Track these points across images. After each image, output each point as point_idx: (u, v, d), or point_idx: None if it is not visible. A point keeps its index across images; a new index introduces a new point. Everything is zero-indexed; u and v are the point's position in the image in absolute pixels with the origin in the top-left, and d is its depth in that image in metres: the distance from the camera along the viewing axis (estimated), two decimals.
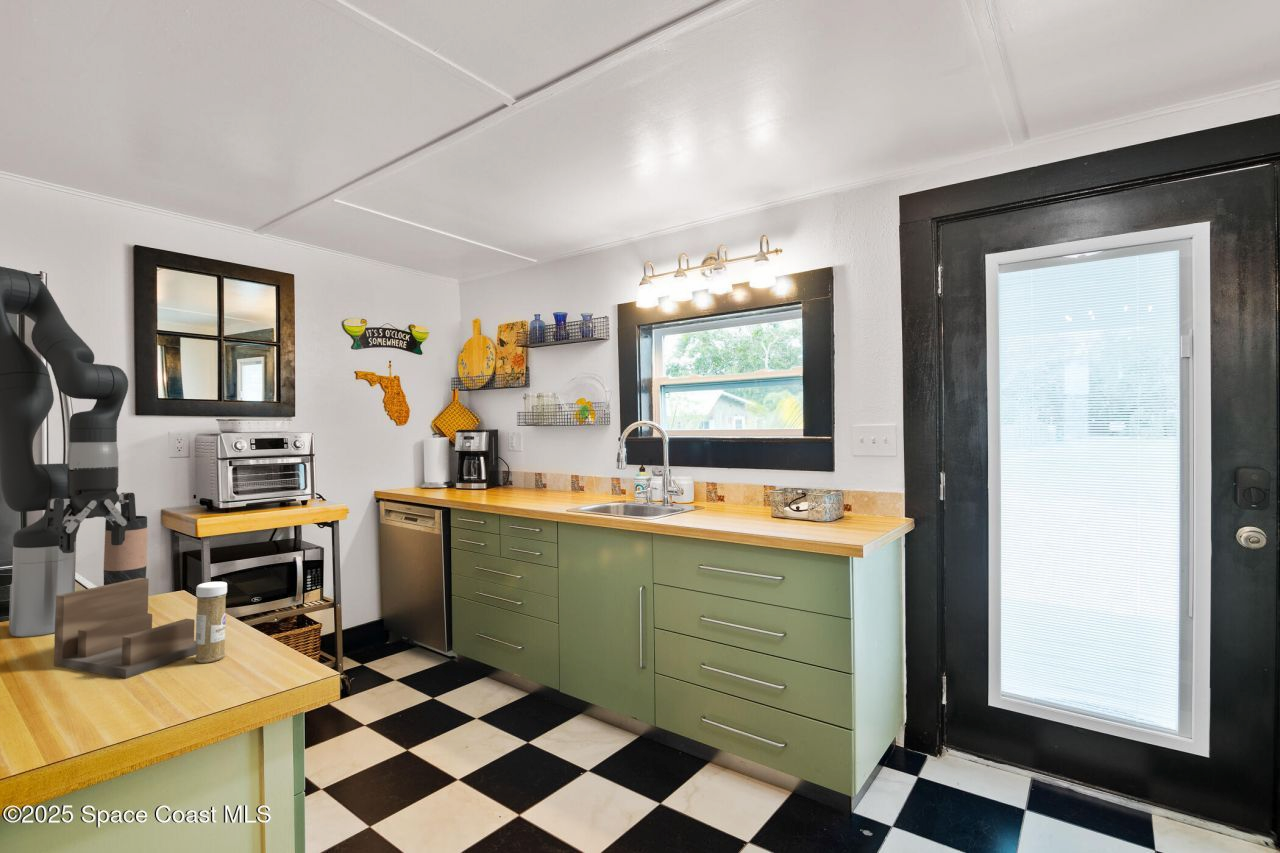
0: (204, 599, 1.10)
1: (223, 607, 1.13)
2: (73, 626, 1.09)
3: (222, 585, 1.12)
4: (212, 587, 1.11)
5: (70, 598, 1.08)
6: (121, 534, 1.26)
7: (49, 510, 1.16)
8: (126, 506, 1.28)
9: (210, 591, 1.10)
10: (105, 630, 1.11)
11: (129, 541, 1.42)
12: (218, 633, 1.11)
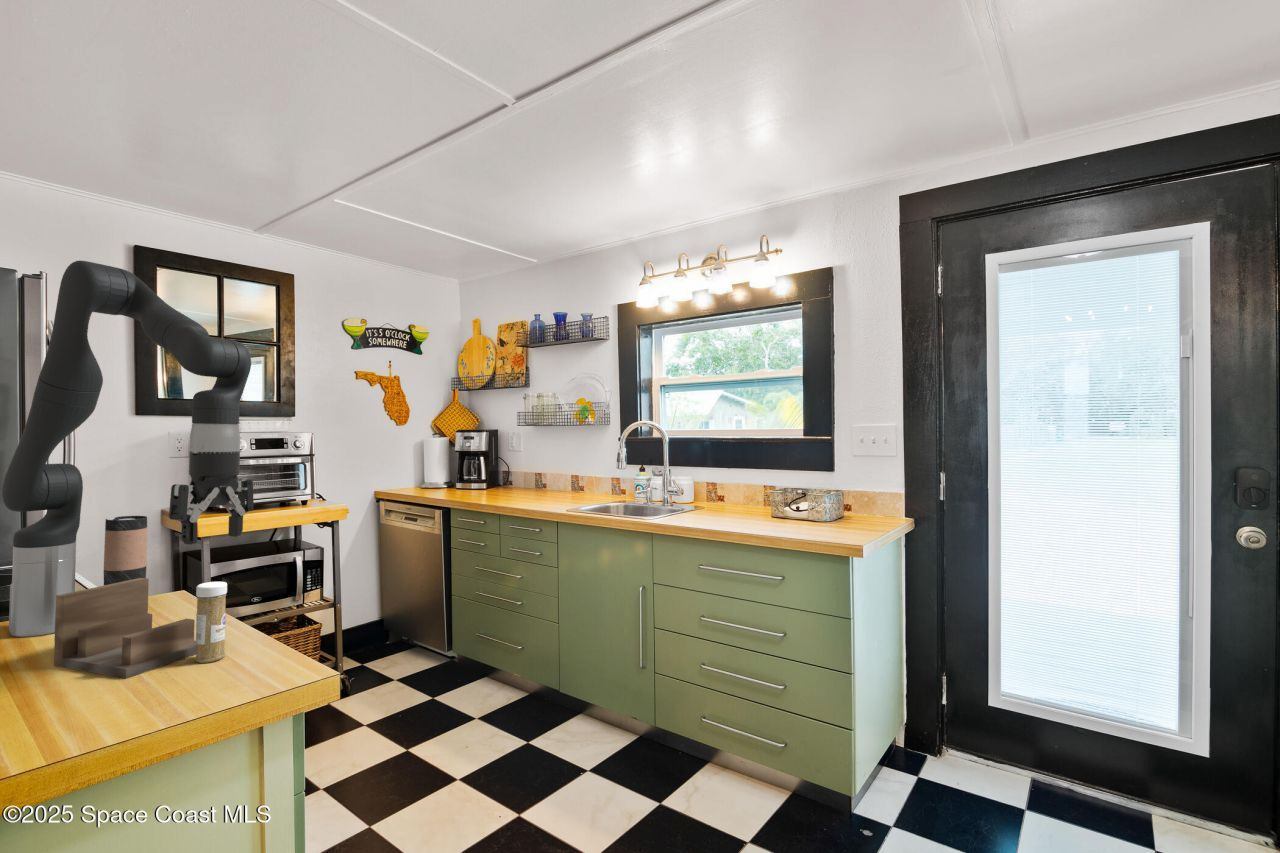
0: (204, 599, 1.10)
1: (223, 607, 1.13)
2: (73, 626, 1.09)
3: (222, 585, 1.12)
4: (212, 587, 1.11)
5: (70, 598, 1.08)
6: (240, 524, 1.16)
7: (173, 497, 1.06)
8: (244, 494, 1.18)
9: (210, 591, 1.10)
10: (105, 630, 1.11)
11: (129, 541, 1.42)
12: (218, 633, 1.11)
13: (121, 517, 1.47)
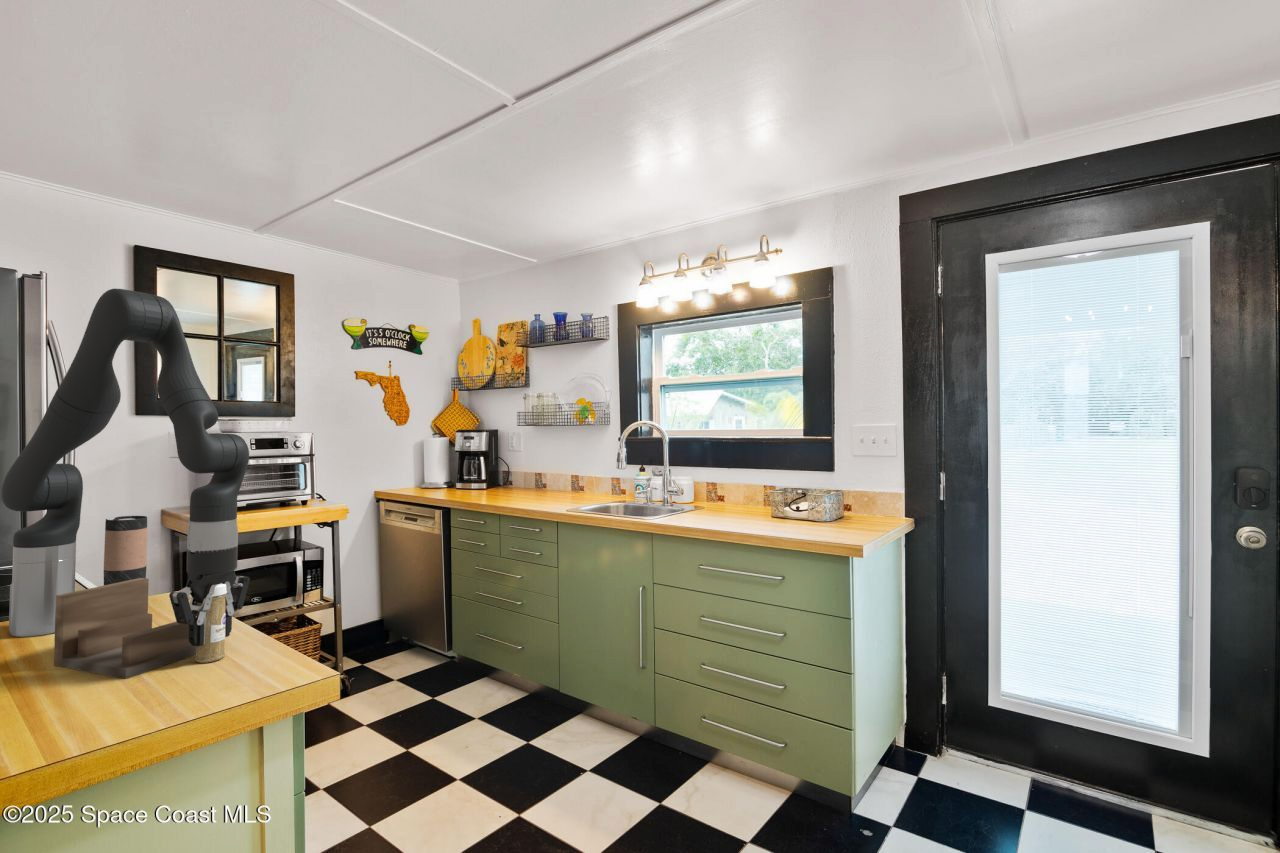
0: None
1: (223, 607, 1.13)
2: (73, 626, 1.09)
3: (222, 585, 1.12)
4: None
5: (70, 598, 1.08)
6: (228, 625, 1.14)
7: (174, 605, 1.07)
8: (238, 591, 1.17)
9: None
10: (105, 630, 1.11)
11: (129, 541, 1.42)
12: (218, 633, 1.11)
13: (121, 517, 1.47)
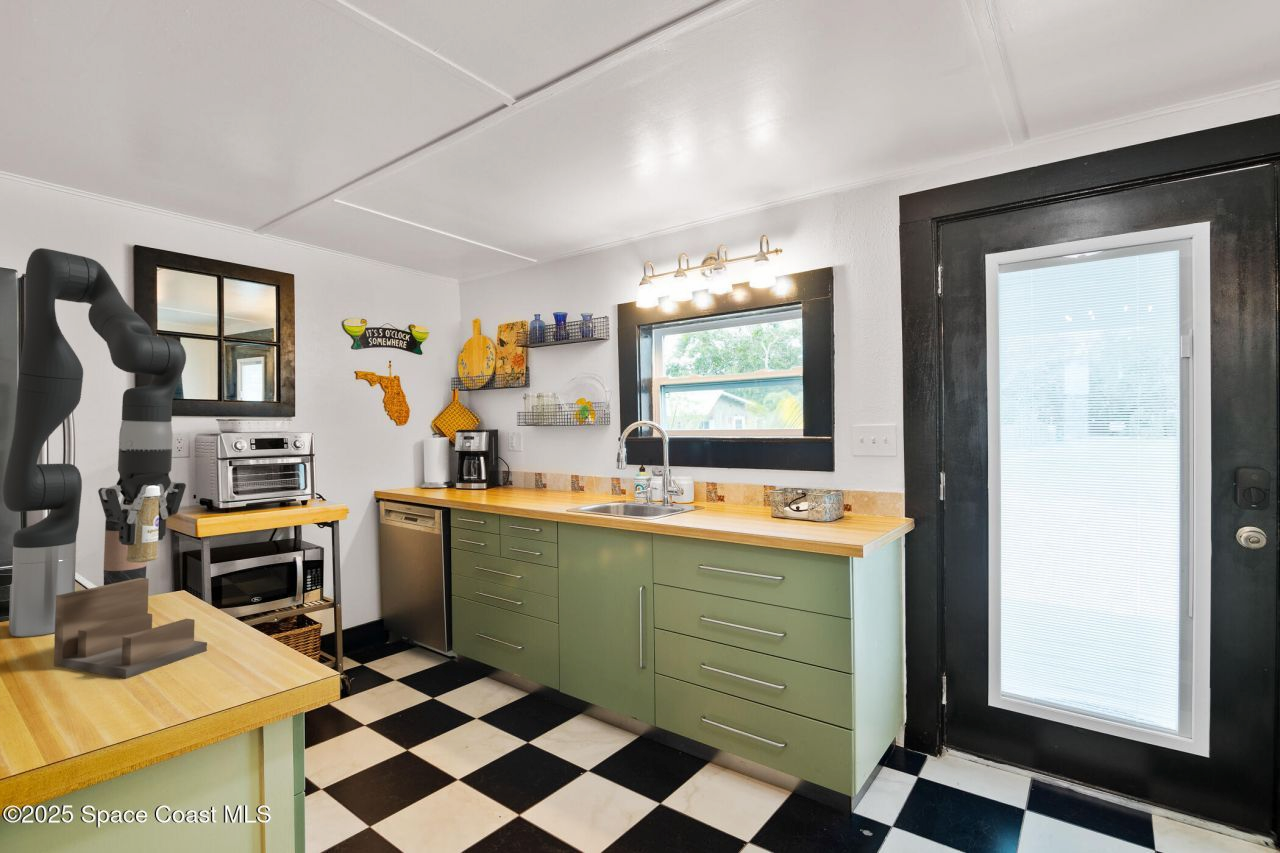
0: None
1: (156, 509, 1.13)
2: (73, 626, 1.09)
3: (155, 486, 1.12)
4: None
5: (70, 598, 1.08)
6: (162, 528, 1.15)
7: (103, 501, 1.07)
8: (173, 496, 1.17)
9: None
10: (105, 630, 1.11)
11: None
12: (150, 534, 1.12)
13: None
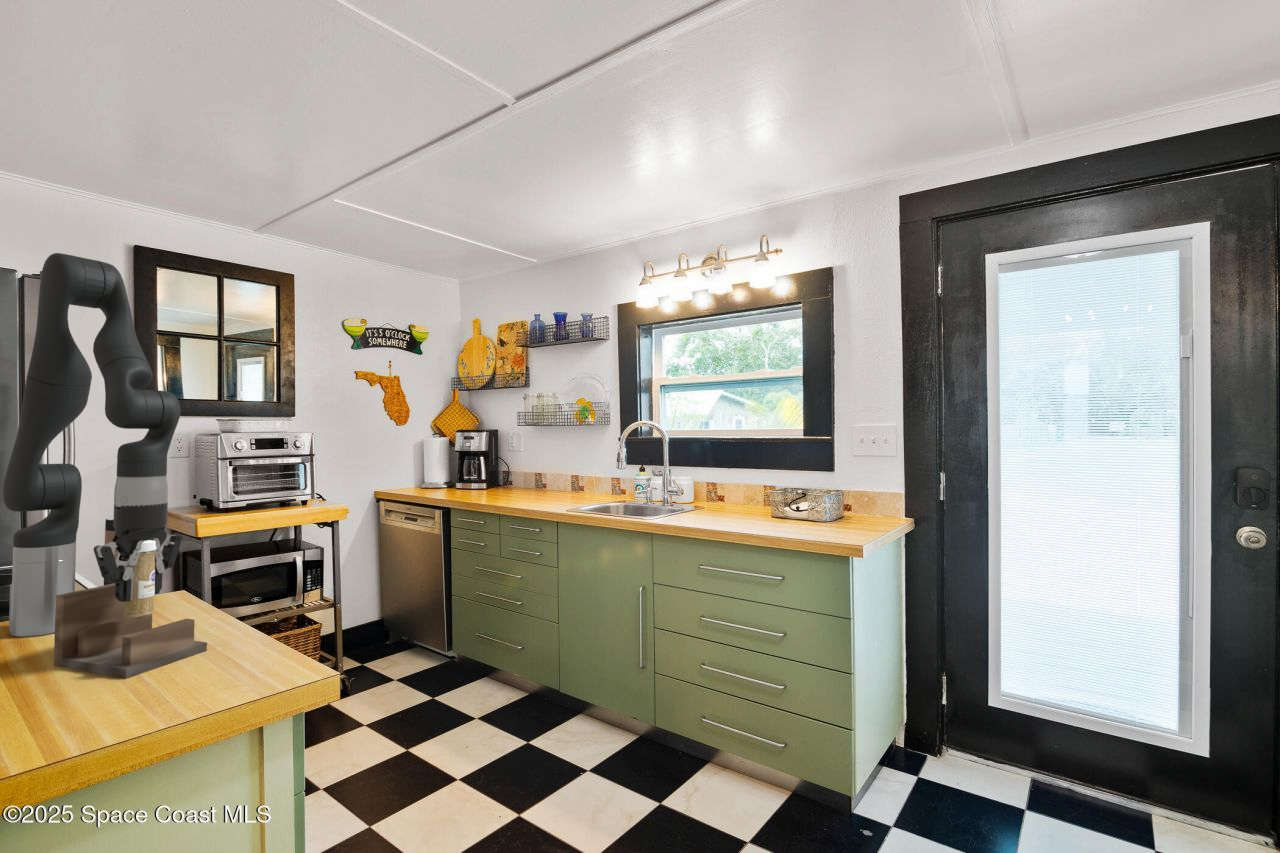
0: None
1: (152, 563, 1.12)
2: (73, 626, 1.09)
3: (151, 541, 1.12)
4: None
5: (70, 598, 1.08)
6: (158, 582, 1.14)
7: (99, 559, 1.06)
8: (169, 549, 1.17)
9: None
10: (105, 630, 1.11)
11: None
12: (146, 589, 1.11)
13: None
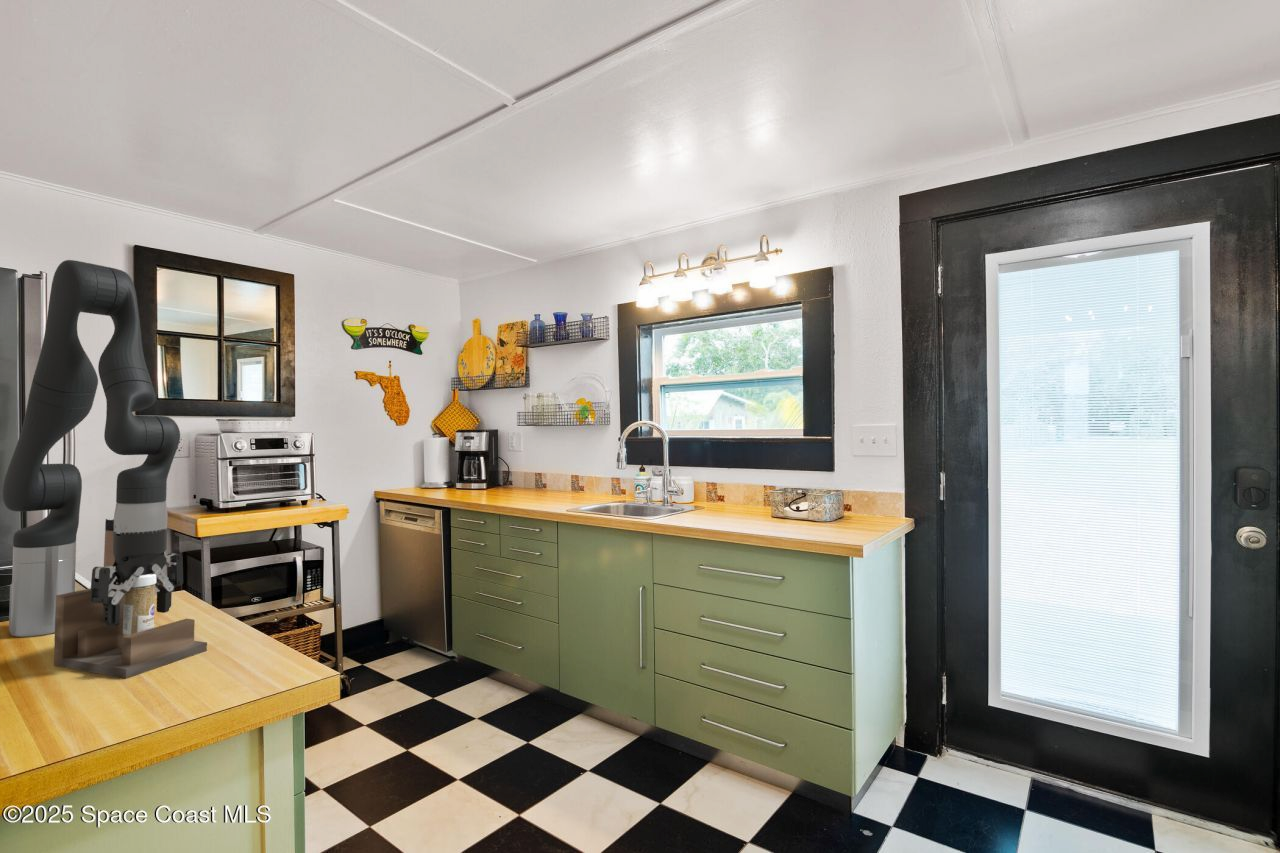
0: (131, 589, 1.10)
1: (151, 597, 1.12)
2: (73, 626, 1.09)
3: (150, 575, 1.12)
4: (139, 577, 1.10)
5: (70, 598, 1.08)
6: (167, 600, 1.16)
7: (94, 580, 1.06)
8: (173, 569, 1.17)
9: (138, 581, 1.10)
10: (105, 630, 1.11)
11: None
12: (146, 624, 1.11)
13: None
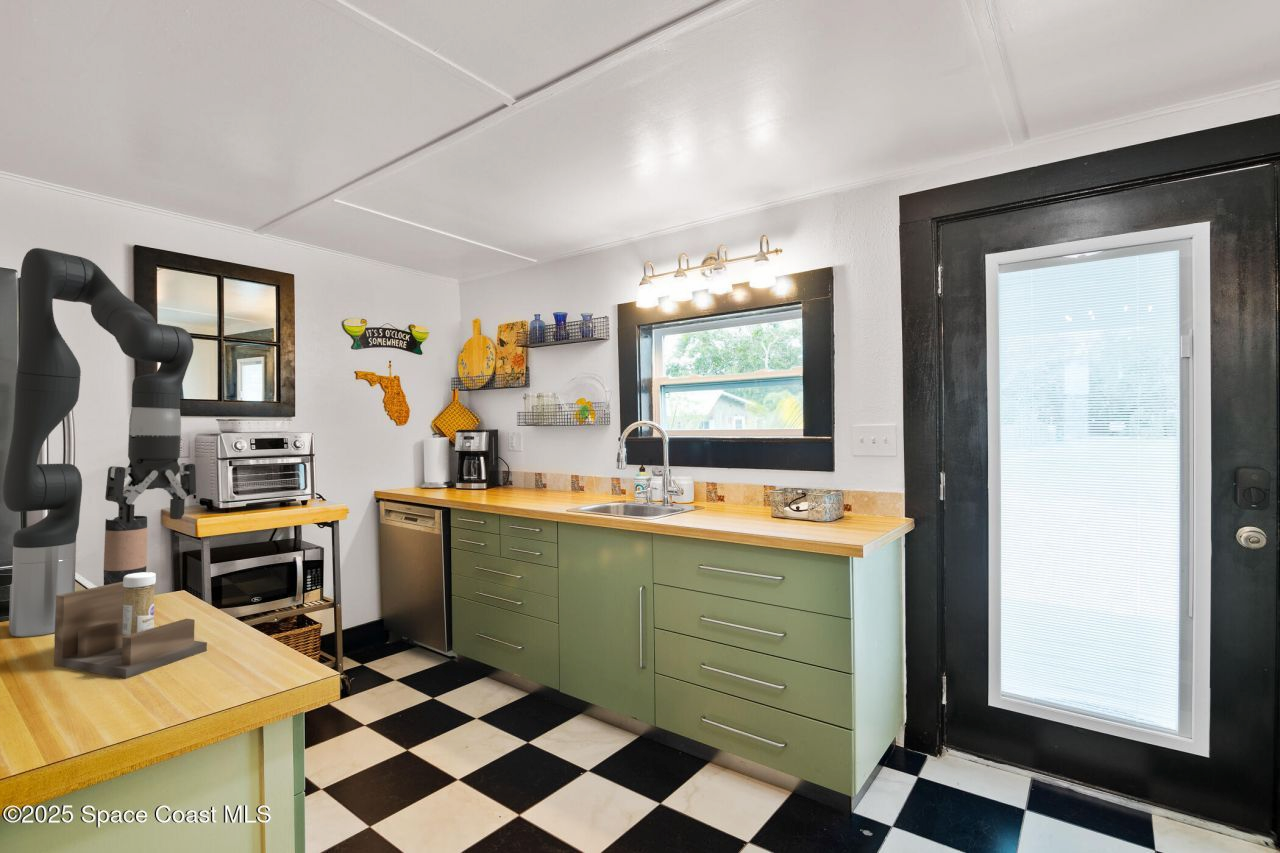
0: (131, 589, 1.10)
1: (151, 597, 1.12)
2: (73, 626, 1.09)
3: (150, 575, 1.12)
4: (139, 577, 1.10)
5: (70, 598, 1.08)
6: (181, 507, 1.18)
7: (109, 479, 1.08)
8: (186, 478, 1.20)
9: (137, 581, 1.10)
10: (105, 630, 1.11)
11: (129, 541, 1.42)
12: (145, 624, 1.11)
13: None
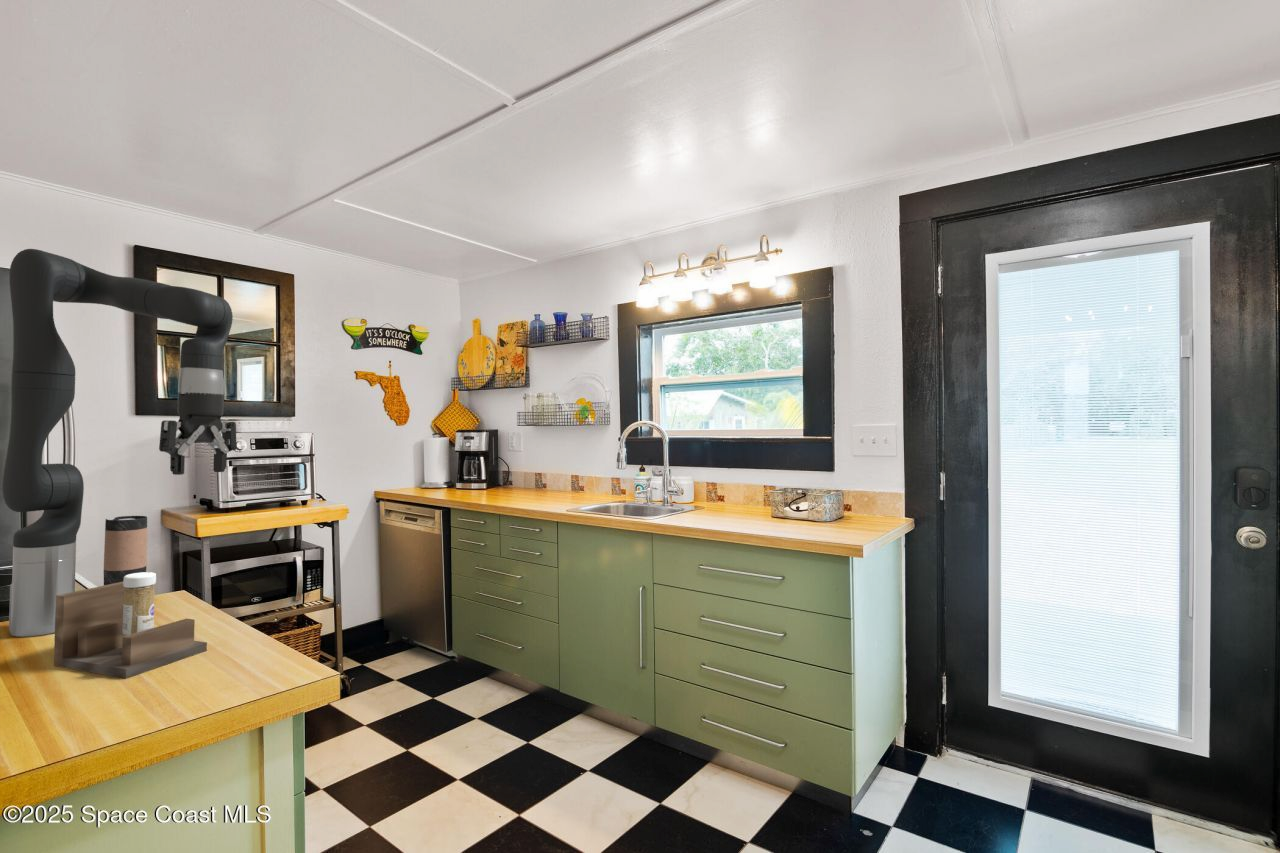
0: (131, 589, 1.10)
1: (151, 598, 1.12)
2: (73, 626, 1.09)
3: (150, 575, 1.12)
4: (139, 577, 1.10)
5: (70, 598, 1.08)
6: (223, 461, 1.29)
7: (163, 431, 1.19)
8: (228, 435, 1.31)
9: (137, 581, 1.10)
10: (105, 630, 1.11)
11: (129, 541, 1.42)
12: (146, 624, 1.11)
13: (121, 517, 1.47)
